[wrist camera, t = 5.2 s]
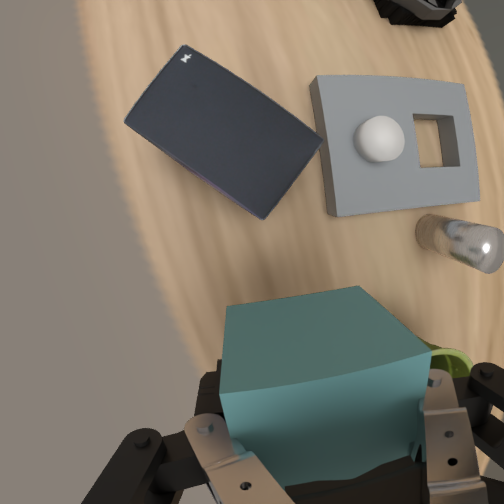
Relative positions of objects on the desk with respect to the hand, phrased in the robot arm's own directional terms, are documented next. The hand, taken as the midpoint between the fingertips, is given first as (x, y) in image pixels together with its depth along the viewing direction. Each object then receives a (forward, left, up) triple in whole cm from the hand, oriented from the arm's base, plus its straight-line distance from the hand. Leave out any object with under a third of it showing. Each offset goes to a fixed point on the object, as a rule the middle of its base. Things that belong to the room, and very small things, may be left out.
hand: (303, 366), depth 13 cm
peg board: (+10, -14, -17) cm, 24 cm away
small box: (+11, +2, -17) cm, 21 cm away
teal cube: (0, 0, -1) cm, 1 cm away
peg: (+1, -17, -17) cm, 24 cm away
